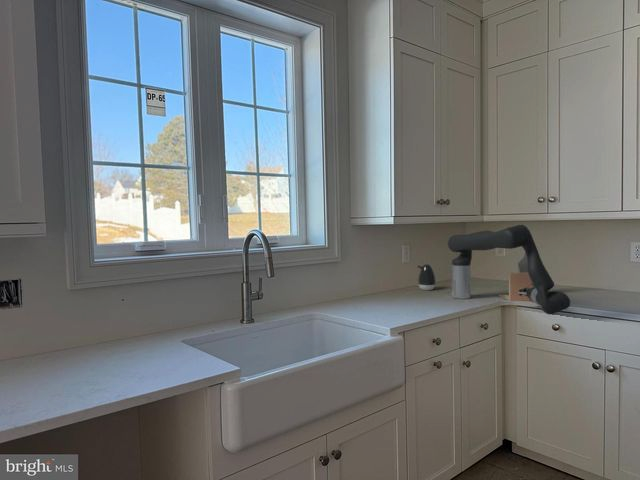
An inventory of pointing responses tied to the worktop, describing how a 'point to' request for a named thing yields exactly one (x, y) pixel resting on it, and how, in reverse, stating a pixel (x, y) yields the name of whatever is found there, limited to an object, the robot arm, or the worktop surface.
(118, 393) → the worktop surface
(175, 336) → the worktop surface
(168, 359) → the worktop surface
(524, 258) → the liquor
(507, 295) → the mat
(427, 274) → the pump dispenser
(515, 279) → the tile
